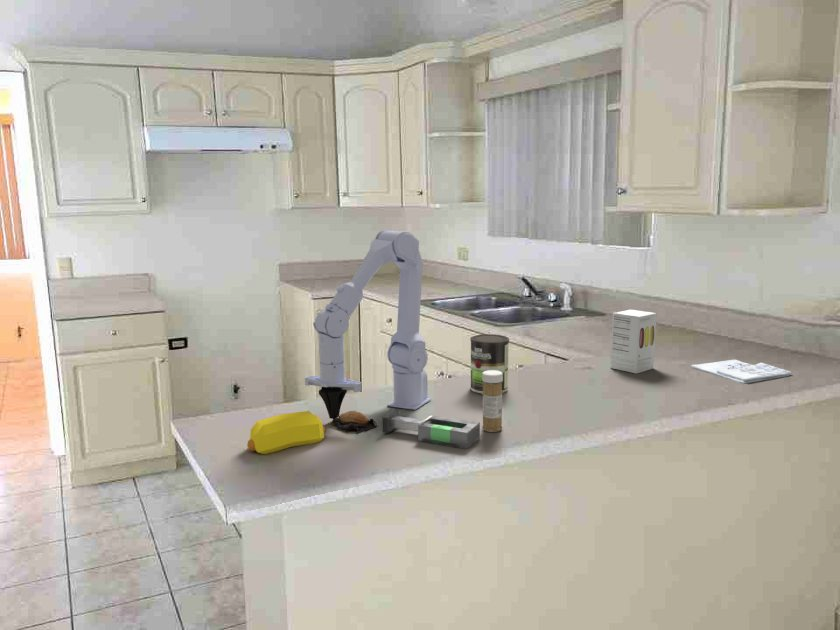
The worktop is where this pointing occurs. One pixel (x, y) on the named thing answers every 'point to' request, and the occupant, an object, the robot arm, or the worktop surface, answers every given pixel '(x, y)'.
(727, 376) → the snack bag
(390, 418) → the grey angular piece
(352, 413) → the bread roll
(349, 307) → the robot arm
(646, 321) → the supplement box
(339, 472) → the worktop surface
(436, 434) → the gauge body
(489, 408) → the sprinkles bottle
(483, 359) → the coffee can
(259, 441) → the yellow banana
